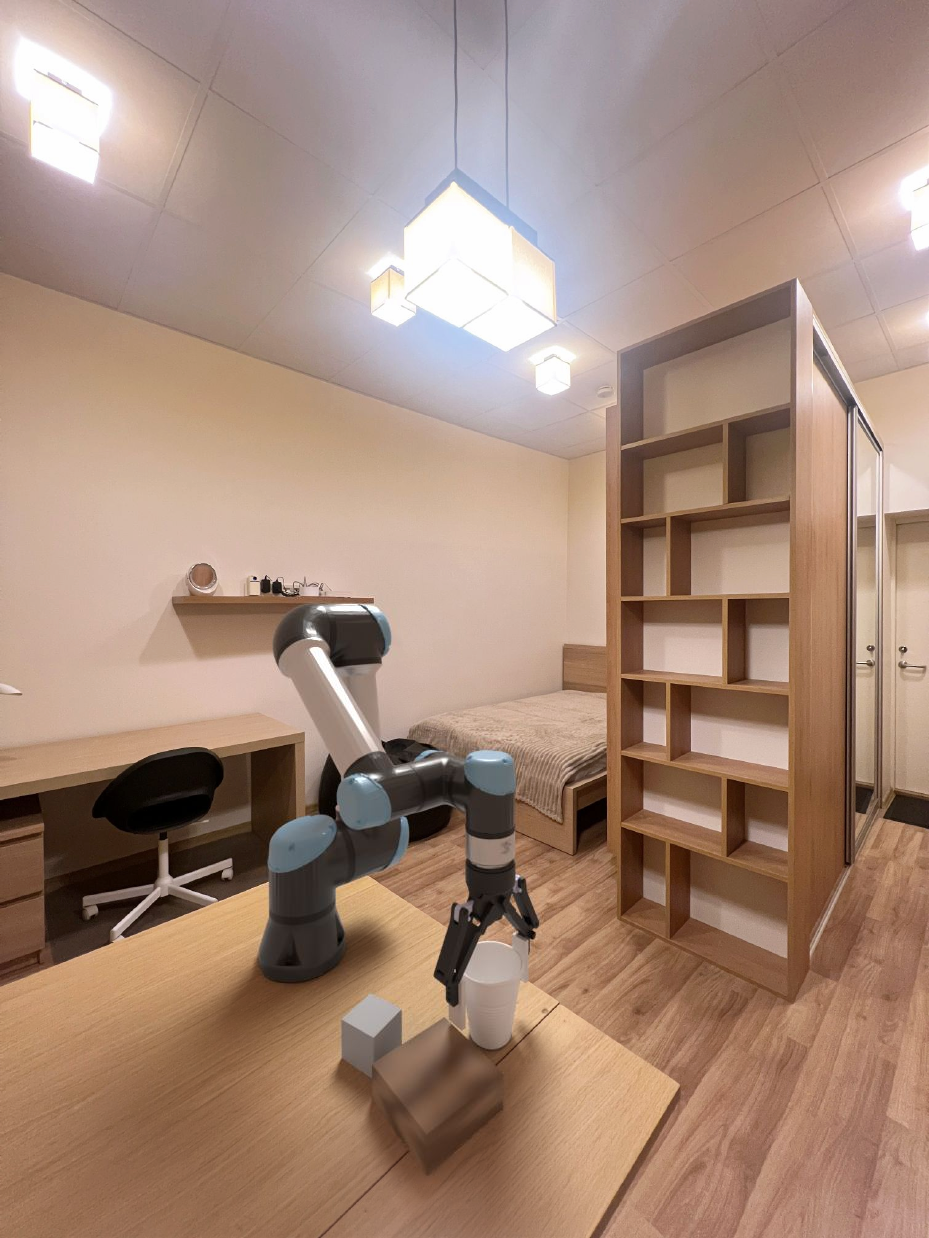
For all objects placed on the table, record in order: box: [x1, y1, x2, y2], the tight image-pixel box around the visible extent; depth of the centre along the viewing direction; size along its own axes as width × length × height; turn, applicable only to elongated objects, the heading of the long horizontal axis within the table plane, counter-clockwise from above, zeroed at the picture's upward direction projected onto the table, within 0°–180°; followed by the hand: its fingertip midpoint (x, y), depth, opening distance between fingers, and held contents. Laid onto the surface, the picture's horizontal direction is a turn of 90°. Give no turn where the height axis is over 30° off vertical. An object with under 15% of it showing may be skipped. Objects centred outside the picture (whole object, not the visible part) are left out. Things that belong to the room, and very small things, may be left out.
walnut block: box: [371, 1016, 504, 1177], centre depth 66 cm, size 12×12×5 cm
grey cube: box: [340, 992, 403, 1079], centre depth 73 cm, size 6×6×6 cm
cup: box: [462, 940, 524, 1050], centre depth 77 cm, size 10×10×11 cm
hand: (490, 999), depth 77 cm, fingers open, 13 cm apart
